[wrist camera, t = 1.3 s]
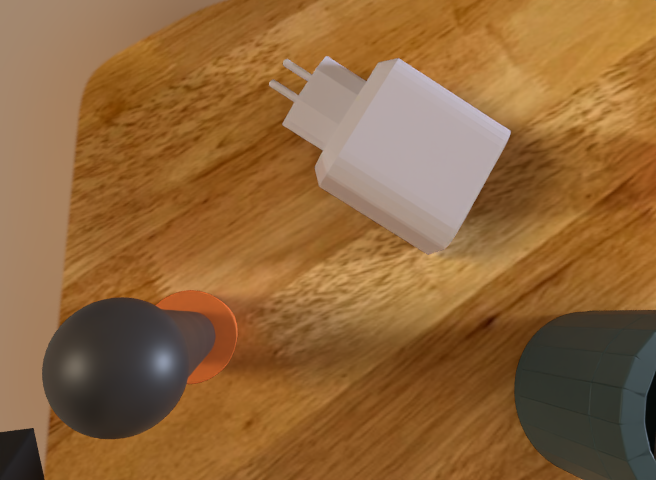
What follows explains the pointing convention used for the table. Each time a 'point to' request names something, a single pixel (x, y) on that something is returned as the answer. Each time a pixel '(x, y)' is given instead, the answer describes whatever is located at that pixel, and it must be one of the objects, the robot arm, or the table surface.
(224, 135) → the table surface
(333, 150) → the charger
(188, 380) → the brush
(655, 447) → the robot arm
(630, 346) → the dark grey pipe sleeve
